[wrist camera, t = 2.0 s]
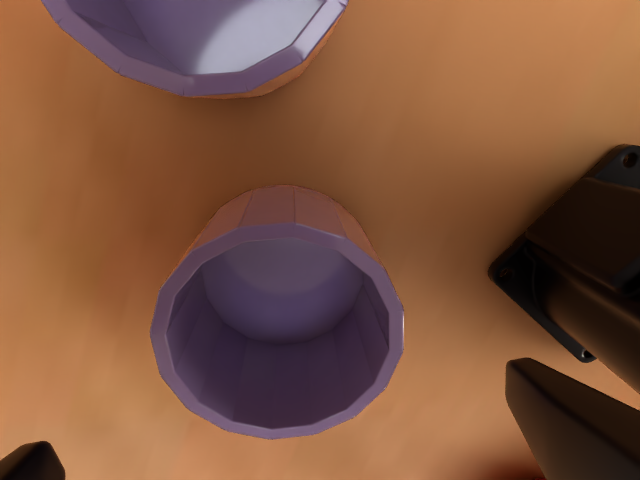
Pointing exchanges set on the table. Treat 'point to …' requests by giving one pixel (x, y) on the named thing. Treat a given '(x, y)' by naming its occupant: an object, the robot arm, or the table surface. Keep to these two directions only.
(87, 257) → the table surface
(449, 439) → the table surface
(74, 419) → the table surface
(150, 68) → the dish
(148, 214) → the table surface
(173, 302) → the dish
